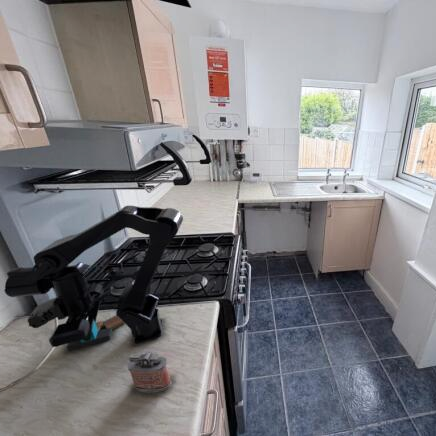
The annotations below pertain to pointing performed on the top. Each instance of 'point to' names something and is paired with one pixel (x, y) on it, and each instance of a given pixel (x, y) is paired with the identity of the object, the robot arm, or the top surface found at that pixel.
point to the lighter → (149, 372)
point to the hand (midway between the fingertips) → (89, 335)
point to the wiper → (92, 338)
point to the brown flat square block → (113, 322)
